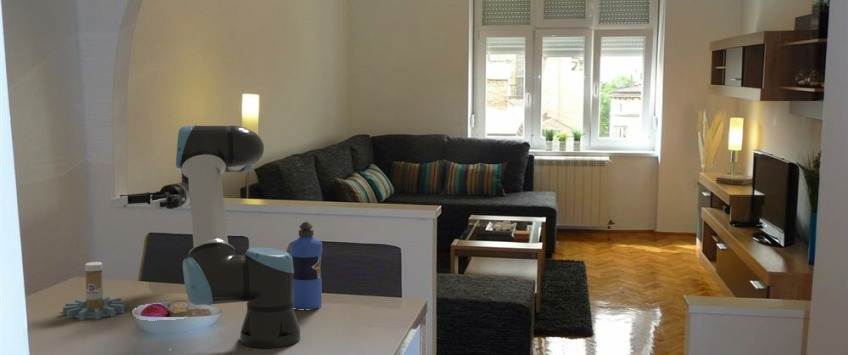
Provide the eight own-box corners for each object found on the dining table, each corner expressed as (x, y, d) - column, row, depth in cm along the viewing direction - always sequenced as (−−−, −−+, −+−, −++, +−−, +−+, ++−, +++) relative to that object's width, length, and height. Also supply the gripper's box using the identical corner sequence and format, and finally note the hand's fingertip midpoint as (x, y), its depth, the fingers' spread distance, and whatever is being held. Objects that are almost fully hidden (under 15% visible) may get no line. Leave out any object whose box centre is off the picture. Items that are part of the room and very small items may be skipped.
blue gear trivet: (110, 321, 218) (110, 313, 218) (51, 319, 219) (51, 311, 219) (135, 304, 235) (135, 297, 235) (80, 302, 236) (80, 295, 235)
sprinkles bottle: (85, 312, 224) (83, 265, 223) (87, 307, 229) (85, 261, 227) (103, 311, 226) (101, 264, 224) (104, 306, 230) (103, 260, 228)
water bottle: (325, 302, 240) (325, 220, 237) (317, 311, 231) (318, 226, 228) (294, 301, 241) (294, 219, 238) (286, 310, 232) (286, 224, 229)
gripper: (210, 209, 248) (168, 220, 228) (142, 205, 255) (96, 214, 235) (210, 185, 247) (168, 194, 227) (142, 181, 255) (95, 189, 234)
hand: (131, 204), depth 231 cm, fingers open, 13 cm apart
